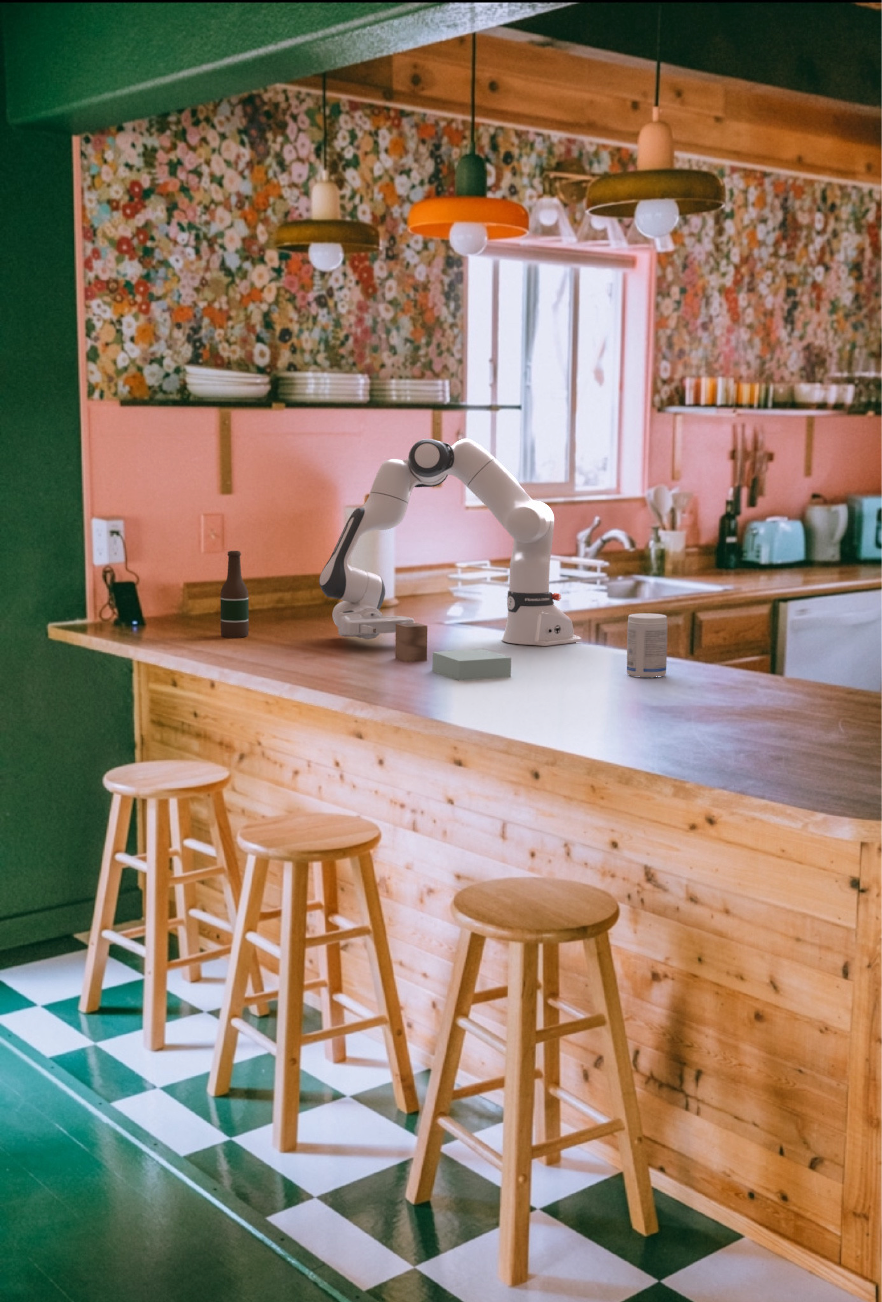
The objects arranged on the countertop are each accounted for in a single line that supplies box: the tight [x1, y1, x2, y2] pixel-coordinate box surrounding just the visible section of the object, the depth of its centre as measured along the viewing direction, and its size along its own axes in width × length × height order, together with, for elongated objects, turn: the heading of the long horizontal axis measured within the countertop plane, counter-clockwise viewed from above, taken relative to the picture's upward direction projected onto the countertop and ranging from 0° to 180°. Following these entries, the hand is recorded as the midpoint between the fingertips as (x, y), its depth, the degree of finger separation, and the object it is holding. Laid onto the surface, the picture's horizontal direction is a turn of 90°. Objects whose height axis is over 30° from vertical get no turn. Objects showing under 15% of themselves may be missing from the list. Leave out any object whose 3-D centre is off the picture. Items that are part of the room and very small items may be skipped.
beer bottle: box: [219, 550, 250, 639], centre depth 372 cm, size 8×8×24 cm
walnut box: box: [394, 622, 428, 663], centre depth 339 cm, size 6×6×9 cm
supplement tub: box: [626, 612, 668, 677], centre depth 321 cm, size 10×10×15 cm
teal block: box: [431, 648, 512, 681], centre depth 321 cm, size 14×14×5 cm
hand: (389, 629), depth 349 cm, fingers open, 8 cm apart
